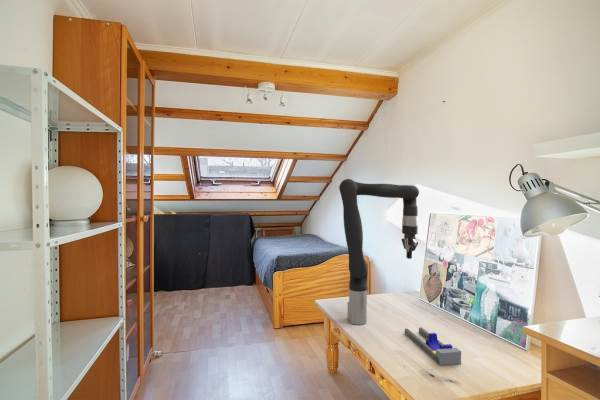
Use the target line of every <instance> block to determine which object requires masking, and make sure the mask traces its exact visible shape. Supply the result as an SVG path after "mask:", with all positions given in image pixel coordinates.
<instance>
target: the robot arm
mask: <svg viewBox="0 0 600 400" xmlns="http://www.w3.org/2000/svg"><path fill="white" fill-rule="evenodd" d="M338 190H339V193H340V196H341V201H342V207H343V209H342V212H343V228H344V229H343V230H344V236H345V241H346V247H347V251H348V271H349V284H348V302H347V313H346V314H347V317H346V318H347V319H346V320H347V321H348V322H349V323H350V325H355V326H363V325H365V324H367V312H368V311H367V306H368V303H367V300H368V298H367V297H368V274H369V273H368V272H369V271H368V269H369V267H368V266H369V265H368V263H367V261H366V260H365V258H364V251H363V244H364V236H363V235H364V234H363V233H364V230H363V225H362V218H361V217H362V216H361V214H360V210H359V207H358V196H370V197H371V196H372V197H377V198H388V199H402V204H403V205H402V209H403V210H402V221H401V234H403V238H401V243H402V247H403V249H404V250H405V251H406V255H405V257H406V259H409V260H410V259H412V258H413V252H415V250H416V249H417V247H418V245H419V242H418V241H416V239H417V238H416V235H418V232H419V231H418V230H419V228H418V227H419V218H418V211H419V210H418V205H417V198H418V197H419V195H420V190H419V188H418V187H417V186H415V185H412V184H411V185H410V184H403V185H402V184H394V183H393V184H392V183H365V182H357V181H355V180H353V179H350V178H345V179H343V180H342V181H341V182H340V184H339V189H338Z"/></svg>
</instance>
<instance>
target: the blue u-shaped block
mask: <svg viewBox="0 0 600 400" xmlns="http://www.w3.org/2000/svg"><path fill="white" fill-rule="evenodd" d="M428 333H429V332H428ZM424 343H425V344H427V345H428V346H429V347H430V348H431V349H433V350H434V351H436V349H442V348H441V347H440V345H439V343H438V335H437V333H436V332H431V333H429V340H427V339H425V342H424ZM447 348H453V345H452V344H451V343H447V344H444V345H443V349H447Z"/></svg>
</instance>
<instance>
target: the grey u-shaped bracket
mask: <svg viewBox="0 0 600 400" xmlns="http://www.w3.org/2000/svg"><path fill="white" fill-rule="evenodd" d="M418 334H420V336H422V337H424V339H425V340H429V332H428V331H427V330H426V329H424V328H423V327H418ZM404 335H405V336H407V338H409V339H410V340H411V341H412V342H413V343H414V344H416V346H417V347H419V348H420V349H421V350H422V352H424V353H425V354H426V355H428V356H429V357H430V358H431V359H432V360H434V362H436V364H438V365H439V366H440V367H442V366H451V365H461V364H462V350H460V349H458V348H457V347H452V348H447V349H443V345H445V344H444V343H442V342H441V340H438V343H439V345H440V347H441V348H442V349H436V351H434V350H433V349H431V348H430V347H429V346H428V345H427V344H425V342H424V341H423V340H422V339H421V338H420V337H418V336H417V335H416V334H415V333H414V332H412V331H411V330H410V329H409V328H404Z"/></svg>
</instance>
